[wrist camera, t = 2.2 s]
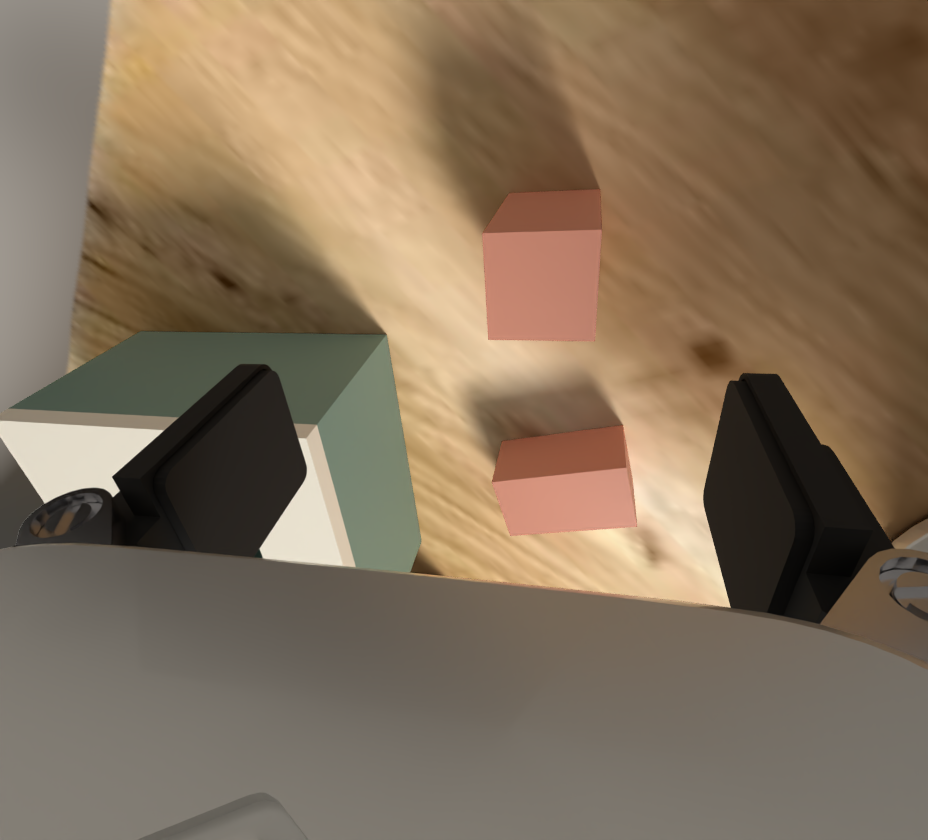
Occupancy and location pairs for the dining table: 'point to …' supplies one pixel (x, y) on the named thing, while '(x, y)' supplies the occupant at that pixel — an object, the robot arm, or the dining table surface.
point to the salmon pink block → (543, 266)
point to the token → (566, 482)
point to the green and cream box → (312, 410)
